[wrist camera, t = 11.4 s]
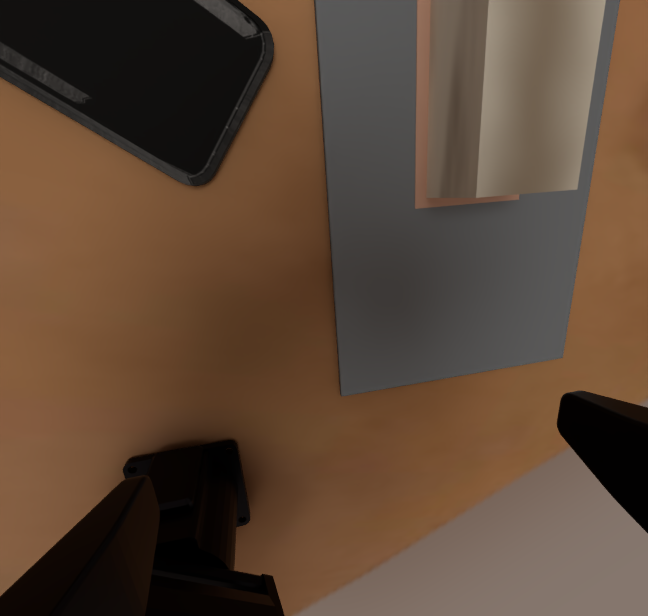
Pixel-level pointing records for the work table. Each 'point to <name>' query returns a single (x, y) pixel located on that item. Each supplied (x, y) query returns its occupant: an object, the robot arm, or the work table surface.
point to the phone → (143, 72)
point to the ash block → (509, 95)
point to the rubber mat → (432, 217)
